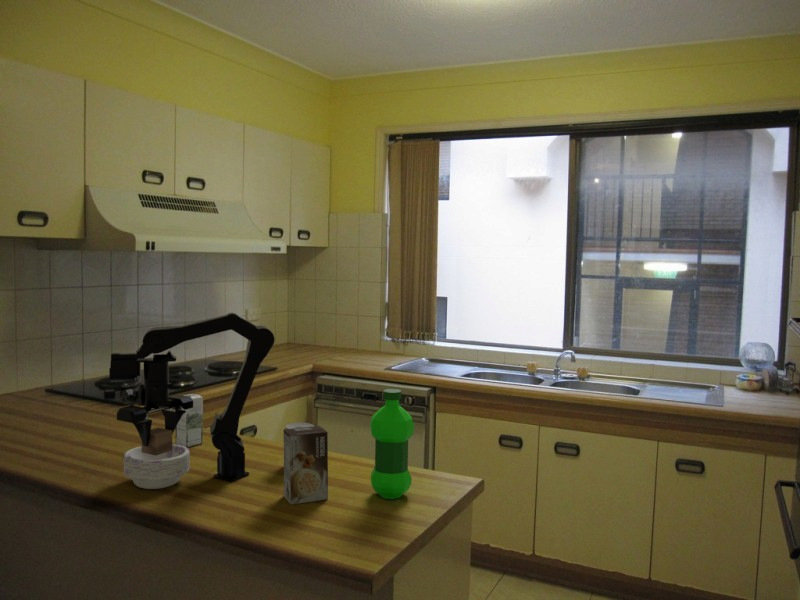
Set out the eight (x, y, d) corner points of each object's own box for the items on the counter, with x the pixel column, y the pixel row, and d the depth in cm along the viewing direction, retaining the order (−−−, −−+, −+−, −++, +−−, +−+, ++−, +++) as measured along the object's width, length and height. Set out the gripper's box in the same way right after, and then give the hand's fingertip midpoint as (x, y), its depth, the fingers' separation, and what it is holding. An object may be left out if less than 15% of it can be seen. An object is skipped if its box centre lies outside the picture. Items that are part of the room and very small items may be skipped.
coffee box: (320, 490, 158) (321, 425, 157) (328, 500, 152) (329, 431, 151) (282, 495, 154) (283, 428, 153) (289, 505, 148) (289, 435, 147)
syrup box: (192, 440, 198) (191, 392, 197) (203, 444, 194) (203, 395, 193) (175, 444, 193) (174, 395, 192) (186, 448, 190) (185, 399, 188)
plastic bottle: (362, 490, 158) (363, 388, 156) (402, 485, 162) (404, 385, 161) (378, 505, 149) (379, 396, 147) (419, 499, 153) (422, 393, 151)
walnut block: (172, 450, 162) (172, 430, 161) (155, 455, 157) (155, 435, 157) (158, 447, 164) (158, 427, 164) (141, 452, 160) (141, 432, 159)
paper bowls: (200, 474, 168) (199, 444, 167) (172, 496, 153) (171, 462, 152) (143, 471, 170) (143, 441, 169) (110, 492, 155) (110, 459, 154)
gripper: (163, 370, 172) (164, 429, 173) (100, 382, 155) (101, 447, 156) (194, 375, 166) (195, 435, 167) (132, 387, 150) (133, 454, 151)
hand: (157, 442), depth 161 cm, fingers open, 6 cm apart
